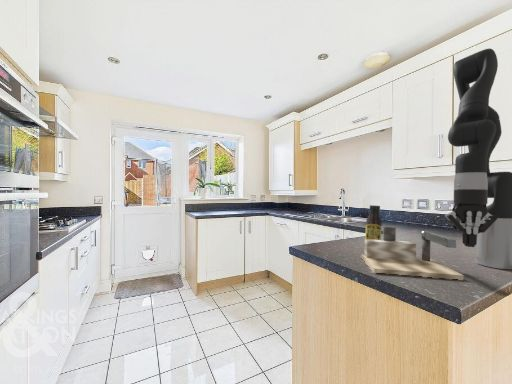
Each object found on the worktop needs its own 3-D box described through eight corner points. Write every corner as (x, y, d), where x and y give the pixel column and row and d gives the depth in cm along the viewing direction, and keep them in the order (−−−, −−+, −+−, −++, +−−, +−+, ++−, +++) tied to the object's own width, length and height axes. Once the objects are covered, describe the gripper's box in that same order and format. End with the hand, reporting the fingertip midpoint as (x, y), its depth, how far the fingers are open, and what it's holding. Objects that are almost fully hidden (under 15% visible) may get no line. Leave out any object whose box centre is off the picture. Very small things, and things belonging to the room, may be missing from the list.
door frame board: (430, 262, 87) (431, 228, 87) (463, 280, 69) (464, 237, 69) (360, 257, 91) (361, 225, 91) (374, 273, 74) (374, 233, 74)
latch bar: (419, 237, 86) (419, 230, 86) (428, 237, 85) (428, 231, 85) (446, 247, 70) (446, 239, 70) (457, 248, 69) (458, 239, 69)
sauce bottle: (364, 251, 102) (364, 205, 102) (365, 248, 108) (365, 204, 108) (381, 253, 99) (382, 205, 99) (381, 250, 105) (382, 205, 105)
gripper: (486, 189, 73) (486, 245, 73) (438, 188, 76) (437, 242, 76) (507, 188, 66) (506, 250, 66) (452, 187, 69) (451, 247, 69)
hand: (469, 246), depth 71 cm, fingers closed
